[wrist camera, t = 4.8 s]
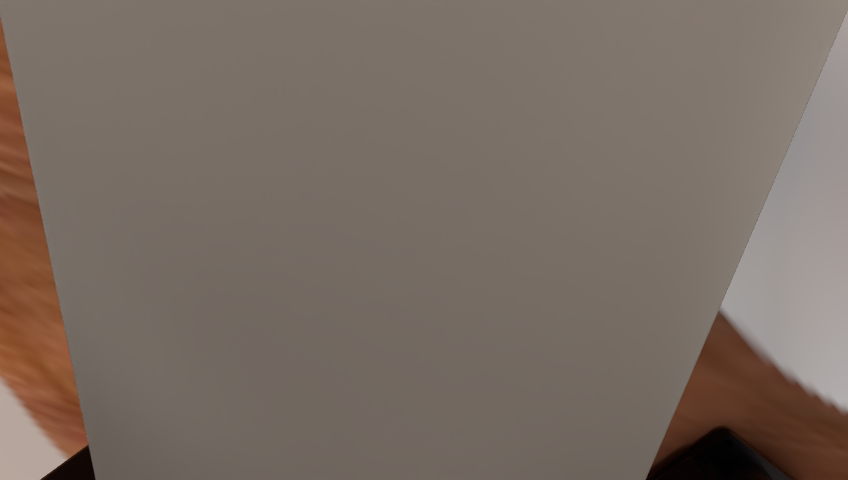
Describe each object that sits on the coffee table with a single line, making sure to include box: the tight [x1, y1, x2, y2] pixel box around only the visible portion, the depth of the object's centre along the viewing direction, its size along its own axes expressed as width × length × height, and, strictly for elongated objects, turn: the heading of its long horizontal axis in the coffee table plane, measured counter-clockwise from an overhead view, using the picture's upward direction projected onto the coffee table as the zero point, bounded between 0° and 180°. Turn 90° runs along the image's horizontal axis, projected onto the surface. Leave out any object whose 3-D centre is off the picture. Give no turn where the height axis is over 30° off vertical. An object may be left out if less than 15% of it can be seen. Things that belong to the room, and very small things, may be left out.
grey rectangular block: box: [0, 0, 848, 480], centre depth 7 cm, size 4×13×5 cm, turn 173°
